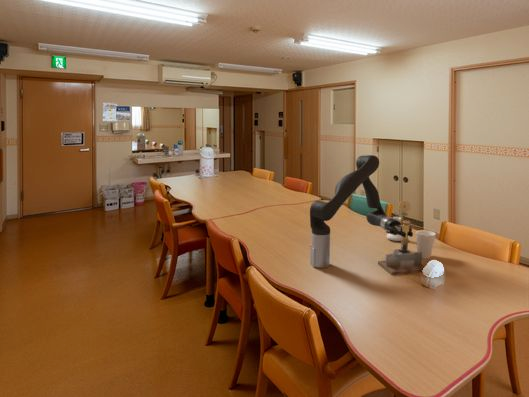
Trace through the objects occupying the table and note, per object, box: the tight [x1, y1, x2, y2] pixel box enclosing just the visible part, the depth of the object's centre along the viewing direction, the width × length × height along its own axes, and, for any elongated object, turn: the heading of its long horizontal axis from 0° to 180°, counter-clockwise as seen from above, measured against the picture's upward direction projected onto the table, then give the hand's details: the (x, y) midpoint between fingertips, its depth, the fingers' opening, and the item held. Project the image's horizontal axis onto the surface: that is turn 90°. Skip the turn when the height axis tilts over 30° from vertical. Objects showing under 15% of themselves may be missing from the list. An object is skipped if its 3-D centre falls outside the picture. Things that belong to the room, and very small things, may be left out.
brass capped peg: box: [400, 220, 411, 250], centre depth 179 cm, size 4×4×14 cm
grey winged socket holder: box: [384, 248, 423, 268], centre depth 181 cm, size 19×7×7 cm, turn 99°
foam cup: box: [415, 229, 437, 259], centre depth 195 cm, size 10×9×13 cm
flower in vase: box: [386, 199, 412, 242], centre depth 221 cm, size 13×11×25 cm
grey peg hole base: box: [377, 260, 426, 276], centre depth 182 cm, size 20×14×2 cm
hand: (408, 235), depth 176 cm, fingers closed on brass capped peg, 3 cm apart
